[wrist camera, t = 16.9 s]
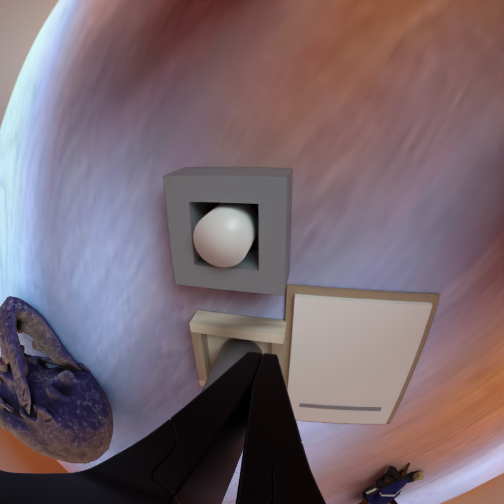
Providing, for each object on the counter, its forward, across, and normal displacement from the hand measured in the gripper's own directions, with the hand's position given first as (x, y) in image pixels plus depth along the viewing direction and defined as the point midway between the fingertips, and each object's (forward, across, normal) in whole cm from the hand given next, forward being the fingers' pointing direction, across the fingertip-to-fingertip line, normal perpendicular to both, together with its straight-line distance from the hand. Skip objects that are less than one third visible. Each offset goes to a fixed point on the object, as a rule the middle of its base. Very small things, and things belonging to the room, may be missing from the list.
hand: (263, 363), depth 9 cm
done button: (+12, +4, 0) cm, 12 cm away
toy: (+13, -15, +36) cm, 41 cm away
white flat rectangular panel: (+12, -5, +12) cm, 18 cm away
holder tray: (+12, +4, +11) cm, 17 cm away
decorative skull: (+13, +27, +20) cm, 36 cm away
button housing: (+12, +4, 0) cm, 13 cm away
